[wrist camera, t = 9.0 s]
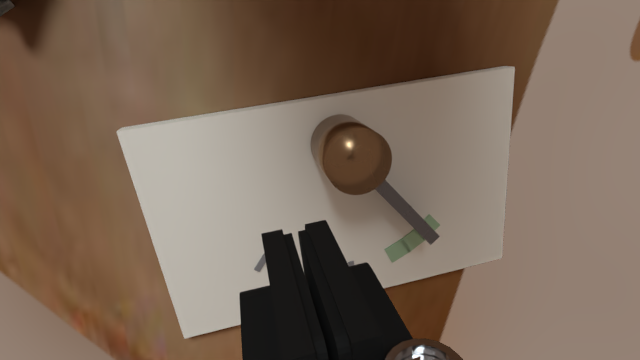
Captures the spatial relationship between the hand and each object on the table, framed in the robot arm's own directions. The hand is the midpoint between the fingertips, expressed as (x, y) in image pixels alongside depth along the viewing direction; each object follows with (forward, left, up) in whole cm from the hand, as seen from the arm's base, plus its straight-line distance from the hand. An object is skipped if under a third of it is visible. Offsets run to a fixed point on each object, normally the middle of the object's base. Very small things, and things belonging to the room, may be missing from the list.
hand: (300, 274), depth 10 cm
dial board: (+8, +6, -20) cm, 23 cm away
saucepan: (+6, +8, -19) cm, 21 cm away
